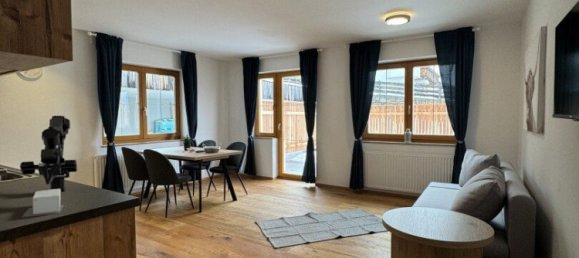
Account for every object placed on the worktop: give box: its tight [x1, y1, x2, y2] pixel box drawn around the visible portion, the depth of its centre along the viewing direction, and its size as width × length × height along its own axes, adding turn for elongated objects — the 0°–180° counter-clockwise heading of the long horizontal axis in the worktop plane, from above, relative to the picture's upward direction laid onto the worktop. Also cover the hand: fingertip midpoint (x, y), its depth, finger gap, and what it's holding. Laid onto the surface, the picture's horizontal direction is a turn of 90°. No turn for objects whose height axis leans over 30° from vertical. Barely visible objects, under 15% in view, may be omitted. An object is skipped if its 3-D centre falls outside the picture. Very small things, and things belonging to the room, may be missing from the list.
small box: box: [32, 189, 62, 215], centre depth 124 cm, size 8×6×13 cm
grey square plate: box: [21, 204, 65, 218], centre depth 122 cm, size 11×11×1 cm
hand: (47, 183), depth 129 cm, fingers closed
